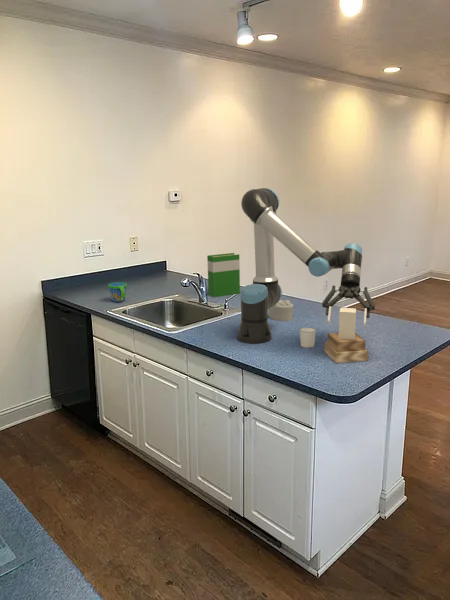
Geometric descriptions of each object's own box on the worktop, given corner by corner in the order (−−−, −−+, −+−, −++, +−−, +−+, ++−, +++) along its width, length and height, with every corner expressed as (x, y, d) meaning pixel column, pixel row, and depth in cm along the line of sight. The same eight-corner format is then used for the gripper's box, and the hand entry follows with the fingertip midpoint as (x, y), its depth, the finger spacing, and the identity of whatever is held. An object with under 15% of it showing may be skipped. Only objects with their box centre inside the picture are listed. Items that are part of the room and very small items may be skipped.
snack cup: (131, 302, 287) (130, 285, 284) (113, 305, 282) (112, 287, 280) (123, 297, 300) (122, 280, 298) (106, 299, 296) (104, 282, 293)
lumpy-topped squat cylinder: (281, 313, 259) (281, 297, 257) (298, 319, 249) (298, 302, 247) (265, 316, 254) (265, 300, 252) (281, 322, 243) (281, 305, 241)
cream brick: (338, 338, 194) (339, 311, 192) (339, 333, 200) (340, 307, 197) (354, 339, 193) (355, 312, 190) (355, 335, 198) (356, 308, 195)
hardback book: (234, 291, 309) (233, 252, 303) (239, 293, 303) (239, 254, 297) (208, 294, 301) (207, 255, 295) (213, 297, 295) (212, 257, 289)
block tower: (335, 363, 191) (336, 343, 189) (324, 351, 204) (324, 332, 202) (367, 360, 193) (368, 341, 191) (354, 349, 205) (355, 330, 203)
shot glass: (304, 341, 216) (304, 326, 214) (318, 344, 212) (319, 329, 210) (296, 345, 211) (296, 330, 209) (310, 349, 206) (310, 333, 205)
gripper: (382, 284, 202) (379, 330, 192) (320, 281, 209) (314, 325, 199) (383, 273, 196) (380, 321, 186) (319, 271, 203) (313, 316, 193)
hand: (346, 323), depth 193 cm, fingers open, 13 cm apart
